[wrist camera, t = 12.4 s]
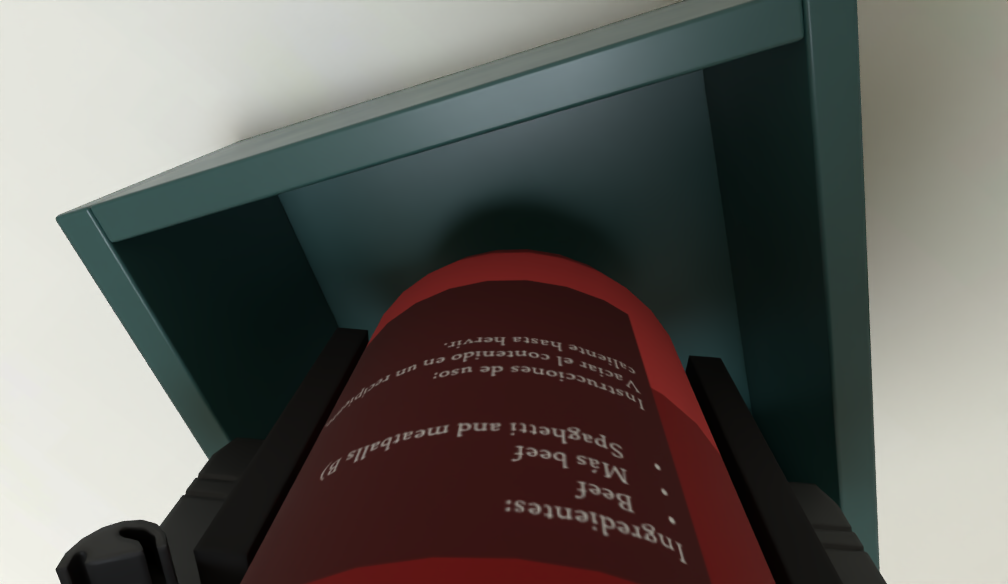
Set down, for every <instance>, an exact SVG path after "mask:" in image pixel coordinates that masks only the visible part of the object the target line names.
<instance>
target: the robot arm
mask: <svg viewBox="0 0 1008 584" xmlns="http://www.w3.org/2000/svg"><path fill="white" fill-rule="evenodd" d="M368 343H369V338H368V330H363V329H350V328H338V327H337V329H336V330H335V332H334V333H333V335H332V336H331V338H330V340H329V341H328V343H327V344H326V346H325V347H324V349H323V350H322V352H321V353H320V355H319V357H318V358H317V360H316V361H315V363H314V364H313V366H312V367H311V369H310V370H309V372H308V374H307V375H306V377H305V378H304V380H303V381H302V383H301V384H300V386H299V387H298V389H297V391H296V392H295V394H294V395H293V397H292V398H291V400H290V401H289V403H288V404H287V406H286V408H285V409H284V411H283V412H282V414H281V415H280V417H279V418H278V420H277V421H276V423H275V425H274V426H273V428H272V429H271V431H270V432H269V434H268V435H267V437H266V438H265V440H264V439H252V438H239V437H236V438H235V439H234V440H232V441H231V442H229V443H228V444H227V445H225V446H224V447H222V448H221V449H220V450H218V451H217V452H215V453H214V454H213V455H212V457H211V458H210V459H209V461H208V462H207V463H206V465H205V466H204V467H203V469H202V470H201V471H200V473H199V474H198V478H195V479H194V481H193V482H192V483H191V485H190V486H189V487H188V489H187V490H186V494H185V495H183V496H182V497H181V498H180V500H179V501H178V502H177V504H176V505H175V506H174V508H173V509H172V510H171V512H170V513H169V514H168V516H167V517H166V518H165V520H164V521H163V522H162V524H161V525H160V526H158V525H157V524H155V523H152V522H148V521H144V520H132V521H122V522H119V523H115V524H112V525H109V526H106V527H103V528H101V529H99V530H97V531H95V532H93V533H92V534H90V535H88V536H86V537H84V538H83V539H81V540H80V541H79V542H78V543H77V544H76V545H74V546H73V547H72V548H71V549H70V550H69V551H68V552H67V553H65V555H64V557H63V558H62V560H61V561H60V563H59V565H58V566H57V568H56V572H57V574H58V577H59V580H60V582H61V584H240V583H241V581H242V579H243V578H244V576H245V574H246V572H247V570H248V568H249V566H250V564H251V563H252V561H253V559H254V557H255V555H256V553H257V551H258V549H259V548H260V546H261V544H262V542H263V540H264V538H265V536H266V534H267V532H268V531H269V529H270V527H271V525H272V523H273V521H274V519H275V517H276V516H277V514H278V512H279V510H280V508H281V506H282V504H283V502H284V501H285V499H286V497H287V495H288V493H289V491H290V489H291V487H292V486H293V484H294V482H295V480H296V478H297V476H298V474H299V472H300V470H301V469H302V467H303V465H304V463H305V461H306V459H307V457H308V455H309V454H310V452H311V450H312V448H313V446H314V444H315V442H316V440H317V439H318V437H319V435H320V433H321V431H322V429H323V427H324V425H325V424H326V422H327V420H328V418H329V416H330V414H331V412H332V410H333V408H334V407H335V405H336V403H337V401H338V399H339V397H340V395H341V393H342V392H343V390H344V388H345V386H346V384H347V382H348V380H349V378H350V377H351V375H352V373H353V371H354V369H355V367H356V365H357V363H358V361H359V360H360V358H361V356H362V354H363V352H364V350H365V348H366V346H367V345H368ZM685 373H686V375H687V378H688V380H689V382H690V385H691V387H692V389H693V392H694V394H695V396H696V399H697V401H698V403H699V406H700V408H701V411H702V413H703V415H704V418H705V420H706V422H707V425H708V427H709V429H710V432H711V434H712V436H713V439H714V441H715V443H716V446H717V448H718V450H719V453H720V455H721V457H722V460H723V462H724V464H725V467H726V469H727V471H728V474H729V476H730V478H731V481H732V483H733V485H734V488H735V490H736V492H737V495H738V497H739V499H740V502H741V504H742V506H743V509H744V511H745V513H746V516H747V518H748V520H749V523H750V525H751V527H752V530H753V532H754V534H755V537H756V539H757V541H758V544H759V546H760V548H761V551H762V553H763V555H764V558H765V560H766V562H767V565H768V567H769V569H770V572H771V574H772V576H773V579H774V581H775V583H776V584H887V583H886V582H885V580H884V579H883V577H882V575H881V574H880V572H879V570H878V569H877V567H876V566H875V564H874V562H873V561H872V559H871V558H870V556H869V554H868V553H867V552H864V546H863V545H862V543H861V541H860V540H859V538H858V537H857V535H856V533H855V532H852V527H851V525H850V524H849V522H848V520H847V519H846V517H845V516H844V514H843V512H842V511H841V509H840V508H839V506H838V504H836V503H835V502H834V501H833V500H832V499H831V498H830V497H829V496H828V495H827V494H825V493H824V492H823V491H822V490H821V489H820V488H819V487H818V486H817V485H816V484H811V483H799V482H788V481H787V479H786V477H785V475H784V474H783V472H782V470H781V468H780V466H779V464H778V462H777V461H776V459H775V457H774V455H773V453H772V451H771V450H770V448H769V446H768V444H767V442H766V440H765V439H764V437H763V435H762V433H761V431H760V429H759V427H758V426H757V424H756V422H755V420H754V418H753V416H752V415H751V413H750V411H749V409H748V407H747V405H746V403H745V402H744V400H743V398H742V396H741V394H740V392H739V391H738V389H737V387H736V385H735V383H734V381H733V380H732V378H731V376H730V374H729V372H728V370H727V368H726V367H725V365H724V363H723V361H722V359H721V358H717V357H704V356H691V355H689V358H688V363H687V367H686V371H685Z"/></svg>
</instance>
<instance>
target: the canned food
mask: <svg viewBox="0 0 1008 584" xmlns="http://www.w3.org/2000/svg"><path fill="white" fill-rule="evenodd" d="M240 584H776V583H775V581H774V579H773V576H772V574H771V572H770V569H769V567H768V565H767V562H766V560H765V558H764V555H763V553H762V551H761V548H760V546H759V544H758V541H757V539H756V537H755V534H754V532H753V530H752V527H751V525H750V523H749V520H748V518H747V516H746V513H745V511H744V509H743V506H742V504H741V502H740V499H739V497H738V495H737V492H736V490H735V488H734V485H733V483H732V481H731V478H730V476H729V474H728V471H727V469H726V467H725V464H724V462H723V460H722V457H721V455H720V453H719V450H718V448H717V446H716V443H715V441H714V439H713V436H712V434H711V432H710V429H709V427H708V425H707V422H706V420H705V418H704V415H703V413H702V411H701V408H700V406H699V403H698V401H697V399H696V396H695V394H694V392H693V389H692V387H691V385H690V382H689V380H688V378H687V375H686V373H685V371H684V368H683V366H682V364H681V361H680V359H679V357H678V354H677V352H676V350H675V348H674V345H673V343H672V341H671V338H670V336H669V335H668V333H667V332H666V330H665V329H664V328H663V326H662V325H661V323H660V322H659V321H658V319H657V318H656V317H655V315H654V314H653V312H652V311H651V310H650V309H649V308H648V307H647V306H646V305H645V304H643V303H642V302H641V301H640V300H639V299H638V298H637V297H636V296H635V295H634V294H632V293H631V292H630V291H629V290H628V289H627V288H625V287H624V286H622V285H621V284H619V283H618V282H616V281H614V280H613V279H611V278H609V277H608V276H606V275H604V274H603V273H601V272H599V271H598V270H596V269H594V268H593V267H591V266H589V265H587V264H584V263H581V262H579V261H576V260H573V259H571V258H568V257H565V256H562V255H560V254H554V253H548V252H542V251H536V250H530V249H518V250H495V251H490V252H485V253H481V254H476V255H472V256H467V257H465V258H462V259H460V260H458V261H456V262H453V263H451V264H449V265H447V266H444V267H442V268H440V269H438V270H435V271H433V272H431V273H429V274H427V275H426V276H425V277H423V278H422V279H421V280H419V281H418V282H416V283H415V284H414V285H412V286H411V287H410V288H408V289H407V290H405V291H404V292H403V293H402V294H401V295H400V296H399V297H398V299H397V300H396V301H395V302H394V303H393V304H392V305H391V307H390V308H389V309H388V310H387V311H386V312H385V313H384V315H383V316H382V318H381V320H380V322H379V324H378V326H377V328H376V330H375V331H374V333H373V335H372V337H371V339H370V341H369V343H368V345H367V346H366V348H365V350H364V352H363V354H362V356H361V358H360V360H359V361H358V363H357V365H356V367H355V369H354V371H353V373H352V375H351V377H350V378H349V380H348V382H347V384H346V386H345V388H344V390H343V392H342V393H341V395H340V397H339V399H338V401H337V403H336V405H335V407H334V408H333V410H332V412H331V414H330V416H329V418H328V420H327V422H326V424H325V425H324V427H323V429H322V431H321V433H320V435H319V437H318V439H317V440H316V442H315V444H314V446H313V448H312V450H311V452H310V454H309V455H308V457H307V459H306V461H305V463H304V465H303V467H302V469H301V470H300V472H299V474H298V476H297V478H296V480H295V482H294V484H293V486H292V487H291V489H290V491H289V493H288V495H287V497H286V499H285V501H284V502H283V504H282V506H281V508H280V510H279V512H278V514H277V516H276V517H275V519H274V521H273V523H272V525H271V527H270V529H269V531H268V532H267V534H266V536H265V538H264V540H263V542H262V544H261V546H260V548H259V549H258V551H257V553H256V555H255V557H254V559H253V561H252V563H251V564H250V566H249V568H248V570H247V572H246V574H245V576H244V578H243V579H242V581H241V583H240Z"/></svg>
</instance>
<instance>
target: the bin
mask: <svg viewBox="0 0 1008 584" xmlns="http://www.w3.org/2000/svg"><path fill="white" fill-rule="evenodd" d="M56 221H57V223H58V224H59V226H60V227H61V229H62V230H63V232H64V234H65V235H66V237H67V238H68V240H69V241H70V243H71V245H72V246H73V248H74V249H75V251H76V252H77V254H78V256H79V257H80V259H81V260H82V262H83V263H84V265H85V266H86V268H87V270H88V271H89V273H90V274H91V276H92V277H93V279H94V281H95V282H96V284H97V285H98V287H99V288H100V290H101V292H102V293H103V295H104V296H105V298H106V299H107V301H108V303H109V304H110V306H111V307H112V309H113V310H114V312H115V313H116V315H117V317H118V318H119V320H120V321H121V323H122V324H123V326H124V328H125V329H126V331H127V332H128V334H129V335H130V337H131V339H132V340H133V342H134V343H135V345H136V346H137V348H138V350H139V351H140V353H141V354H142V356H143V357H144V359H145V360H146V362H147V364H148V365H149V367H150V368H151V370H152V371H153V373H154V375H155V376H156V378H157V379H158V381H159V382H160V384H161V386H162V387H163V389H164V390H165V392H166V393H167V395H168V396H169V398H170V400H171V401H172V403H173V404H174V406H175V407H176V409H177V411H178V412H179V414H180V415H181V417H182V418H183V420H184V422H185V423H186V425H187V426H188V428H189V429H190V431H191V433H192V434H193V436H194V437H195V439H196V440H197V442H198V443H199V445H200V447H201V448H202V450H203V451H204V453H205V454H206V456H207V458H208V459H210V458H211V457H212V455H213V454H214V453H215V452H217V451H218V450H220V449H221V448H222V447H224V446H225V445H227V444H228V443H229V442H231V441H232V440H234V439H235V438H236V437H239V438H252V439H264V440H265V438H266V437H267V435H268V434H269V432H270V431H271V429H272V428H273V426H274V425H275V423H276V421H277V420H278V418H279V417H280V415H281V414H282V412H283V411H284V409H285V408H286V406H287V404H288V403H289V401H290V400H291V398H292V397H293V395H294V394H295V392H296V391H297V389H298V387H299V386H300V384H301V383H302V381H303V380H304V378H305V377H306V375H307V374H308V372H309V370H310V369H311V367H312V366H313V364H314V363H315V361H316V360H317V358H318V357H319V355H320V353H321V352H322V350H323V349H324V347H325V346H326V344H327V343H328V341H329V340H330V338H331V336H332V335H333V333H334V332H335V330H336V329H337V327H338V328H350V329H363V330H368V338H369V341H370V339H371V337H372V335H373V333H374V331H375V330H376V328H377V326H378V324H379V322H380V320H381V318H382V316H383V315H384V313H385V312H386V311H387V310H388V309H389V308H390V307H391V305H392V304H393V303H394V302H395V301H396V300H397V299H398V297H399V296H400V295H401V294H402V293H403V292H404V291H405V290H407V289H408V288H410V287H411V286H412V285H414V284H415V283H416V282H418V281H419V280H421V279H422V278H423V277H425V276H426V275H427V274H429V273H431V272H433V271H435V270H438V269H440V268H442V267H444V266H447V265H449V264H451V263H453V262H456V261H458V260H460V259H462V258H465V257H467V256H472V255H476V254H481V253H485V252H490V251H495V250H518V249H530V250H536V251H542V252H548V253H554V254H560V255H562V256H565V257H568V258H571V259H573V260H576V261H579V262H581V263H584V264H587V265H589V266H591V267H593V268H594V269H596V270H598V271H599V272H601V273H603V274H604V275H606V276H608V277H609V278H611V279H613V280H614V281H616V282H618V283H619V284H621V285H622V286H624V287H625V288H627V289H628V290H629V291H630V292H631V293H632V294H634V295H635V296H636V297H637V298H638V299H639V300H640V301H641V302H642V303H643V304H645V305H646V306H647V307H648V308H649V309H650V310H651V311H652V312H653V314H654V315H655V317H656V318H657V319H658V321H659V322H660V323H661V325H662V326H663V328H664V329H665V330H666V332H667V333H668V335H669V336H670V338H671V341H672V343H673V345H674V348H675V350H676V352H677V354H678V357H679V359H680V361H681V364H682V366H683V368H684V371H686V367H687V363H688V358H689V355H691V356H704V357H717V358H721V359H722V361H723V363H724V365H725V367H726V368H727V370H728V372H729V374H730V376H731V378H732V380H733V381H734V383H735V385H736V387H737V389H738V391H739V392H740V394H741V396H742V398H743V400H744V402H745V403H746V405H747V407H748V409H749V411H750V413H751V415H752V416H753V418H754V420H755V422H756V424H757V426H758V427H759V429H760V431H761V433H762V435H763V437H764V439H765V440H766V442H767V444H768V446H769V448H770V450H771V451H772V453H773V455H774V457H775V459H776V461H777V462H778V464H779V466H780V468H781V470H782V472H783V474H784V475H785V477H786V479H787V481H788V482H799V483H811V484H816V485H817V486H818V487H819V488H820V489H821V490H822V491H823V492H824V493H825V494H827V495H828V496H829V497H830V498H831V499H832V500H833V501H834V502H835V503H836V504H838V506H839V508H840V509H841V511H842V512H843V514H844V516H845V517H846V519H847V520H848V522H849V524H850V525H851V527H852V532H855V533H856V535H857V537H858V538H859V540H860V541H861V543H862V545H863V546H864V552H867V553H868V554H869V556H870V558H871V559H872V561H873V562H874V564H875V566H876V567H877V569H878V570H879V546H878V521H877V496H876V470H875V445H874V420H873V395H872V369H871V344H870V319H869V293H868V268H867V243H866V217H865V192H864V167H863V142H862V116H861V91H860V66H859V40H858V15H857V0H685V1H682V2H679V3H675V4H672V5H669V6H666V7H663V8H660V9H656V10H653V11H650V12H647V13H644V14H641V15H638V16H634V17H631V18H628V19H625V20H622V21H619V22H615V23H612V24H609V25H606V26H603V27H600V28H596V29H593V30H590V31H587V32H584V33H581V34H577V35H574V36H571V37H568V38H565V39H562V40H558V41H555V42H552V43H549V44H546V45H543V46H539V47H536V48H533V49H530V50H527V51H524V52H520V53H517V54H514V55H511V56H508V57H505V58H501V59H498V60H495V61H492V62H489V63H486V64H482V65H479V66H476V67H473V68H470V69H467V70H463V71H460V72H457V73H454V74H451V75H448V76H444V77H441V78H438V79H435V80H432V81H429V82H425V83H422V84H419V85H416V86H413V87H410V88H406V89H403V90H400V91H397V92H394V93H391V94H387V95H384V96H381V97H378V98H375V99H372V100H368V101H365V102H362V103H359V104H356V105H353V106H349V107H346V108H343V109H340V110H337V111H334V112H330V113H327V114H324V115H321V116H318V117H315V118H311V119H308V120H305V121H302V122H299V123H296V124H293V125H289V126H286V127H283V128H280V129H277V130H274V131H270V132H267V133H264V134H261V135H258V136H255V137H251V138H248V139H245V140H242V141H239V142H236V143H233V144H231V145H229V146H226V147H224V148H221V149H219V150H216V151H214V152H211V153H209V154H207V155H204V156H202V157H199V158H197V159H194V160H192V161H189V162H187V163H185V164H182V165H180V166H177V167H175V168H172V169H170V170H167V171H165V172H163V173H160V174H158V175H155V176H153V177H150V178H148V179H145V180H143V181H141V182H138V183H136V184H133V185H131V186H128V187H126V188H123V189H121V190H119V191H116V192H114V193H111V194H109V195H106V196H104V197H102V198H99V199H97V200H94V201H92V202H89V203H87V204H84V205H82V206H80V207H77V208H75V209H72V210H70V211H67V212H65V213H62V214H60V215H58V216H57V217H56Z"/></svg>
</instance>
